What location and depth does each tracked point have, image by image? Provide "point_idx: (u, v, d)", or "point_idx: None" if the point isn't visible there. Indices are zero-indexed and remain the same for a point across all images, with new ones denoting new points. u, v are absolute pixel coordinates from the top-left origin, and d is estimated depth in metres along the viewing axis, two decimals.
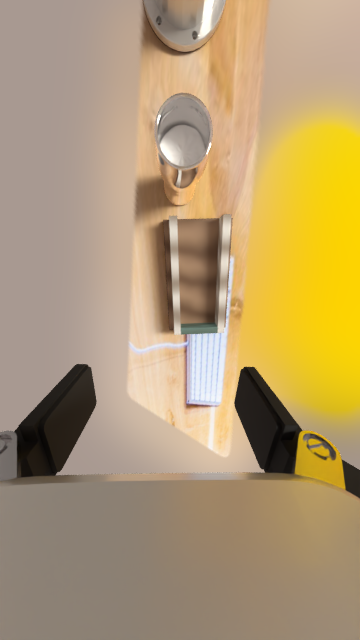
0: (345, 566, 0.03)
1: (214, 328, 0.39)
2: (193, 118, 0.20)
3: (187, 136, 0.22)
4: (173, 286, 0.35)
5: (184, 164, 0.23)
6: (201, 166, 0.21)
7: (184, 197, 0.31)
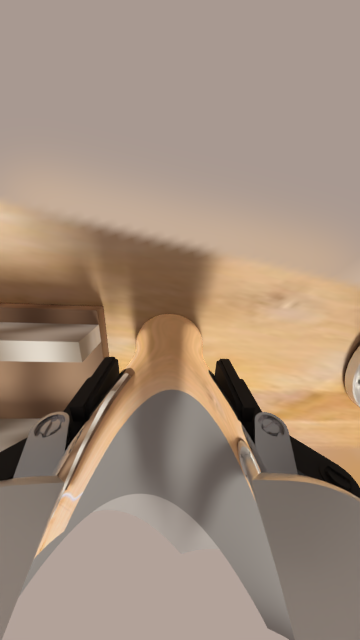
0: (345, 566, 0.03)
1: None
2: None
3: None
4: None
5: None
6: None
7: None
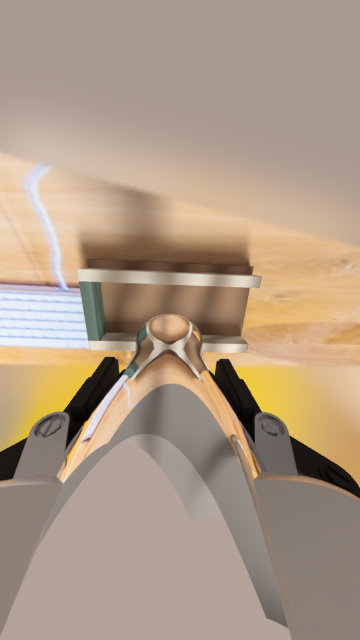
0: (345, 566, 0.03)
1: (95, 336, 0.24)
2: None
3: None
4: (164, 275, 0.22)
5: None
6: None
7: None
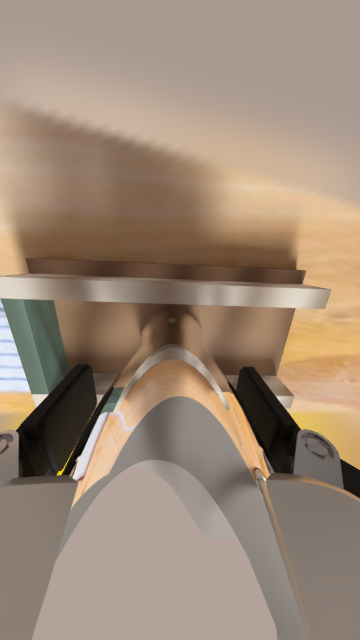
0: (345, 566, 0.03)
1: (43, 387, 0.14)
2: None
3: None
4: (157, 287, 0.12)
5: None
6: None
7: None
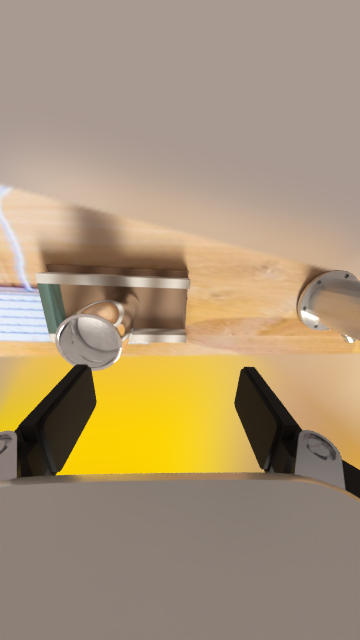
0: (345, 566, 0.03)
1: (55, 329, 0.29)
2: None
3: None
4: (109, 278, 0.27)
5: (93, 331, 0.21)
6: (74, 356, 0.19)
7: None
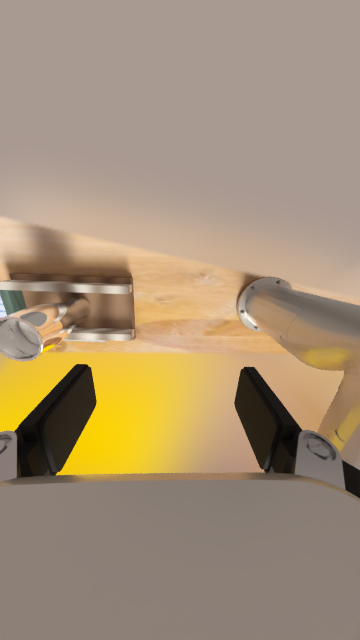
0: (345, 566, 0.03)
1: None
2: None
3: None
4: (58, 285, 0.31)
5: (31, 330, 0.26)
6: (11, 349, 0.24)
7: None
